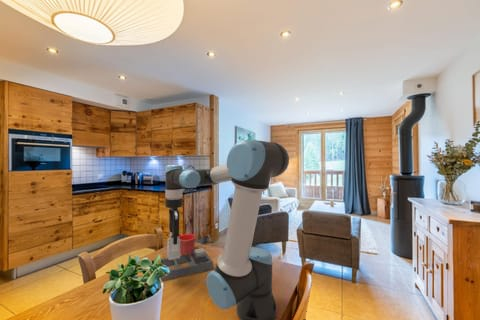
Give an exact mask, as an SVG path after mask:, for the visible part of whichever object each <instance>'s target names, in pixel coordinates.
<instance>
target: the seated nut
mask: <svg viewBox="0 0 480 320" xmlns="http://www.w3.org/2000/svg"><path fill="white" fill-rule="evenodd" d="M193 253H194V261H195V263H196V264H198V263H203V262H206V253H207V252H206V250H205V249H204V247H202V248H201V247H200V248H196V249H195V248H194V251H193Z"/></svg>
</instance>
